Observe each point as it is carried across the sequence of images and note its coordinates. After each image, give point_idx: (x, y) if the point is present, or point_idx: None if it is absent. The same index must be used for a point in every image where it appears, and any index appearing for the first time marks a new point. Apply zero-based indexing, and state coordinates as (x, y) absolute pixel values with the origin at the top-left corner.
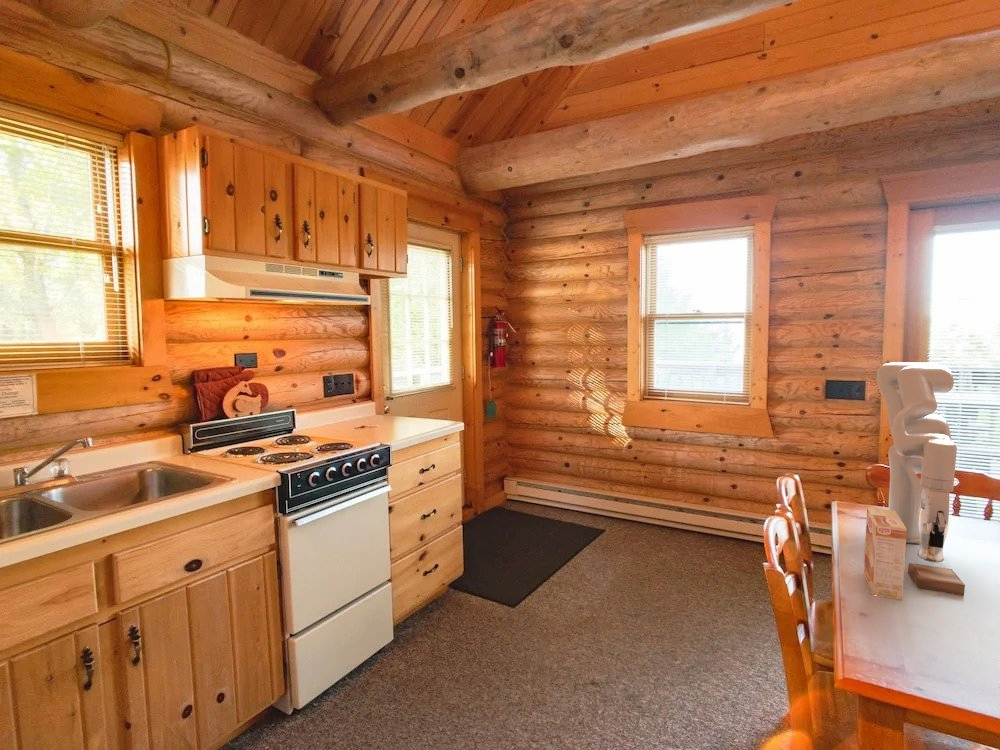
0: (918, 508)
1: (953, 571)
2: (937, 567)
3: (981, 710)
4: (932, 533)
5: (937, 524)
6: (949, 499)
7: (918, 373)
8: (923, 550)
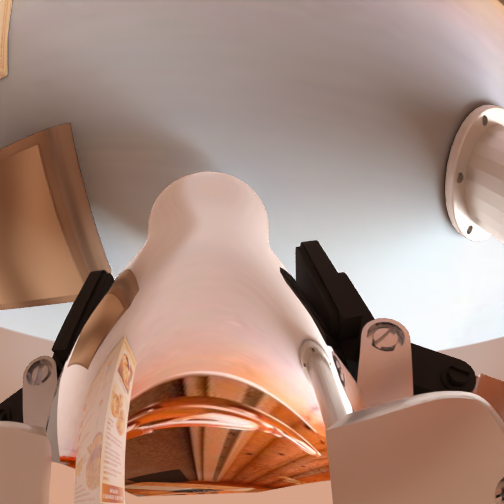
0: (497, 432)
1: (75, 299)
2: (66, 250)
3: None
4: (32, 363)
5: None
6: None
7: None
8: (160, 213)
